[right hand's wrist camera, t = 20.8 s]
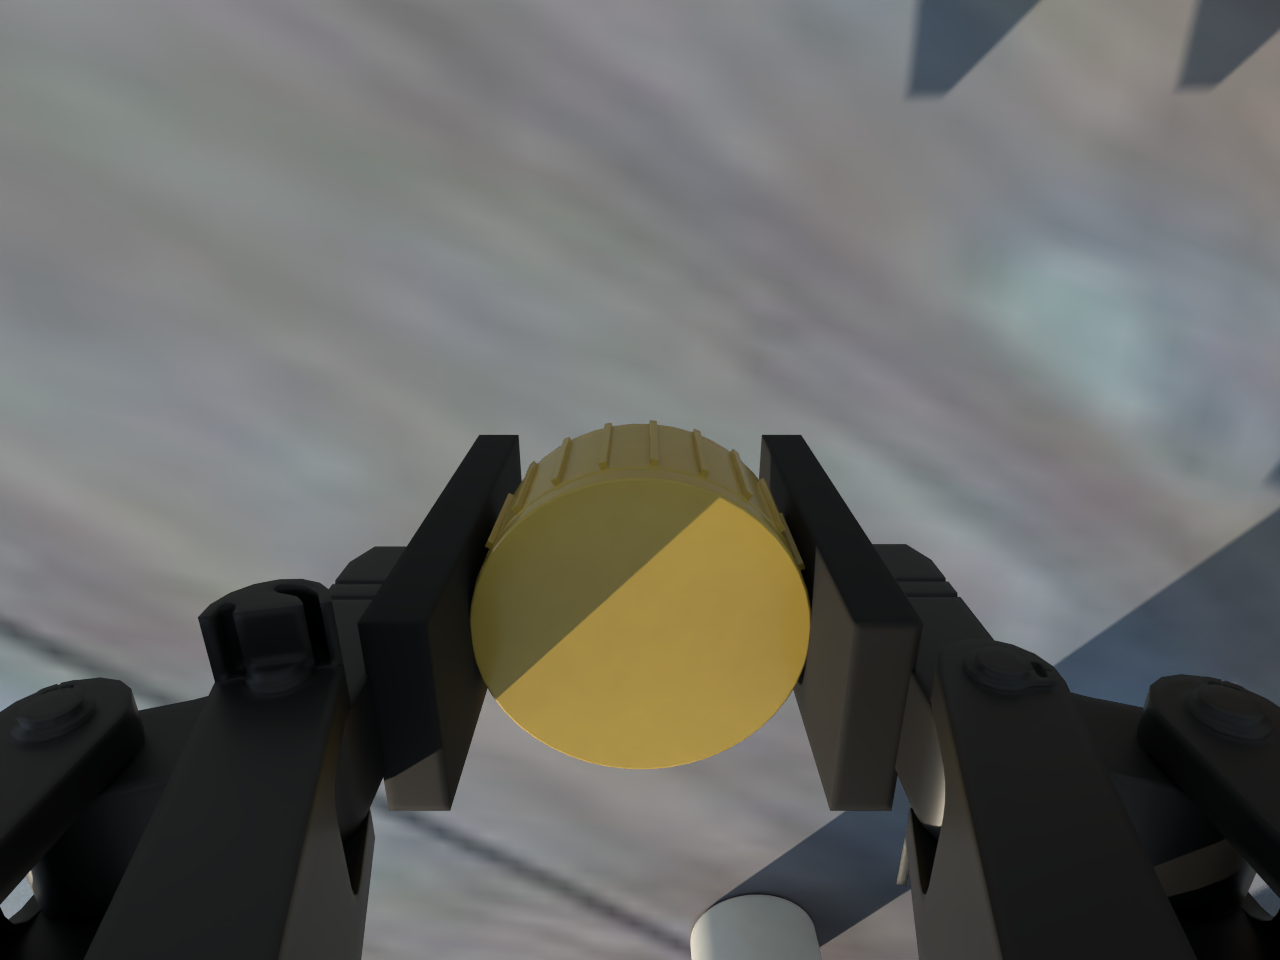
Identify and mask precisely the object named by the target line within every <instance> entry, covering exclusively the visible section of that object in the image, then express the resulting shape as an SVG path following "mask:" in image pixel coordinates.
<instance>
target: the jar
mask: <svg viewBox="0 0 1280 960" xmlns="http://www.w3.org/2000/svg"><path fill="white" fill-rule="evenodd" d="M691 954H692V960H822V956H821V952H820V948H819V944H818V940H817V936H816V932H815V928H814V925H813V922H812V920H811V919H810V917H809V916H808V915H807V913H806V912H805V911H804V910H803V909H801V908H800V907H799V906H798V905H796V904H794V903H792V902H790V901H788V900H786V899H783V898H780V897H776V896H771V895H744V896H738V897H734V898H731V899H728V900H725V901H723V902H720V903H718V904H717V905H715V906H713V907H712V908H710V909H709V910H707V911H706V912H705V913H704V914H703V915H702V916H701V917H700V918H699V919H698V921H697V923H696V924H695V926H694V928H693V931H692V935H691Z"/></svg>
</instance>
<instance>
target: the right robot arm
mask: <svg viewBox="0 0 1280 960" xmlns="http://www.w3.org/2000/svg"><path fill="white" fill-rule="evenodd" d="M762 478H764V479H765V481H766V482H767V485H768V487H769V489H770V492H771V494H772V497H773V499H774V501H775V504H776V506H777V508H778V511H779V513H783V516H784V518H785V520H786V523H787V525H788V528H789V530H790V532H791V535H792V537H793V539H794V542H795V544H796V546H797V549H798V551H799V553H800V556H801V558H802V560H803V563H804V566H805V569H804V570H801V573H802V576H803V578H804V581H805V584H806V587H807V590H808V595H809V600H810V605H811V624H810V634H809V644H808V653H807V658H806V662H805V666H804V668H803V670H802V673H801V675H800V677H799V679H798V682H797V684H796V685H795V687H794V689H793V690H794V693H795V696H796V700H797V703H798V706H799V710H800V713H801V716H802V719H803V723H804V726H805V729H806V733H807V736H808V739H809V742H810V746H811V749H812V752H813V755H814V759H815V762H816V765H817V769H818V772H819V775H820V778H821V782H822V785H823V788H824V792H825V795H826V798H827V801H828V805H829V808H830V811H891V810H892V804H893V798H894V792H895V786H896V780H897V775H898V776H899V778H900V781H901V783H902V785H903V788H904V790H905V792H906V794H907V797H908V799H909V801H910V804H911V806H910V811H909V816H908V822H907V827H906V833H905V838H904V844H903V849H902V855H901V860H900V866H899V872H898V878H897V884H899V885H904V886H906V885H907V880H908V875H910V884H911V893H912V901H913V910H914V919H915V928H916V936H917V945H918V954H919V960H1280V909H1279V911H1278V913H1277V915H1276V916H1275V917H1272V916H1271V915H1270V914H1269V913H1268V912H1266V911H1265V910H1264V909H1263V908H1262V907H1261V906H1260V905H1259V904H1258V903H1257V902H1256V900H1255V899H1254V898H1253V897H1252V896H1251V895H1250V893H1249V892H1248V890H1249V888H1250V886H1251V884H1252V881H1253V879H1254V877H1255V874H1256V872H1257V874H1258V875H1259V876H1260V877H1261V878H1262V879H1263V880H1264V881H1265V882H1266V884H1267V885H1268V886H1269V887H1270V888H1271V889H1272V890H1273V891H1274V892H1275V894H1276V895H1277V896H1278V897H1279V898H1280V707H1278V706H1277V705H1275V704H1274V703H1272V702H1271V701H1269V700H1268V699H1266V698H1264V697H1262V696H1259V695H1257V694H1255V693H1253V692H1250V691H1248V690H1246V689H1245V688H1243V687H1242V686H1239V685H1237V684H1234V683H1230V682H1227V681H1224V682H1223V681H1221V680H1220V679H1216V678H1211V677H1201V676H1192V675H1183V674H1180V675H1173V676H1166V677H1161V678H1160V679H1158V680H1157V681H1156V682H1154V683H1153V684H1152V685H1150V689H1149V692H1148V695H1147V698H1146V701H1145V704H1144V707H1143V708H1142V707H1137V706H1132V705H1127V704H1122V703H1117V702H1112V701H1106V700H1101V699H1096V698H1091V697H1086V696H1083V695H1079V694H1075V693H1071V692H1070V690H1069V688H1068V686H1067V684H1066V682H1065V680H1064V679H1063V678H1062V677H1061V675H1060V674H1059V673H1058V672H1057V670H1056V669H1055V668H1054V667H1053V666H1052V665H1050V664H1049V663H1047V662H1046V661H1044V660H1043V659H1042V658H1040V657H1039V656H1037V655H1036V654H1034V653H1031V652H1029V651H1027V650H1024V649H1022V648H1019V647H1017V646H1015V645H1012V644H1008V643H1003V642H999V641H994V639H993V638H992V637H991V636H990V634H989V633H988V632H987V630H986V629H985V628H984V627H983V625H982V624H981V623H980V622H979V620H978V619H977V618H976V616H975V615H974V614H973V613H972V611H971V610H970V609H969V607H968V606H967V605H966V604H965V602H964V601H963V600H962V598H961V597H958V596H957V592H956V591H955V590H954V588H953V587H952V586H951V584H950V583H949V582H946V580H945V579H946V578H945V577H944V575H943V574H942V573H941V572H940V570H939V569H938V568H937V567H936V565H935V564H934V563H933V561H932V560H931V559H929V558H927V557H926V556H924V555H923V554H921V553H919V552H918V551H916V550H914V549H913V548H911V547H910V546H908V545H906V544H872V543H871V542H870V540H869V539H868V537H867V536H866V534H865V533H864V531H863V529H862V528H861V526H860V525H859V523H858V522H857V520H856V519H855V517H854V516H853V514H852V513H851V511H850V509H849V508H848V506H847V505H846V503H845V502H844V500H843V499H842V497H841V496H840V494H839V493H838V491H837V490H836V488H835V486H834V485H833V483H832V482H831V480H830V479H829V477H828V476H827V474H826V473H825V471H824V470H823V468H822V466H821V465H820V463H819V462H818V460H817V459H816V457H815V456H814V454H813V453H812V451H811V450H810V448H809V446H808V445H807V443H806V442H805V440H804V439H803V437H802V436H801V435H762V443H761V458H760V473H759V480H760V479H762ZM521 482H522V481H521V466H520V451H519V436H518V435H479V436H478V438H477V439H476V441H475V443H474V444H473V446H472V447H471V449H470V450H469V452H468V453H467V455H466V456H465V458H464V459H463V461H462V463H461V464H460V466H459V467H458V469H457V470H456V472H455V473H454V475H453V476H452V478H451V479H450V481H449V483H448V484H447V486H446V487H445V489H444V490H443V492H442V493H441V495H440V496H439V498H438V499H437V501H436V503H435V504H434V506H433V507H432V509H431V510H430V512H429V513H428V515H427V516H426V518H425V519H424V521H423V523H422V524H421V526H420V527H419V529H418V530H417V532H416V533H415V535H414V536H413V538H412V539H411V541H410V543H409V544H408V546H407V547H373V548H372V549H370V550H369V551H367V552H365V553H364V554H362V555H361V556H359V557H357V558H356V559H354V560H352V561H351V562H349V564H348V565H347V566H346V568H345V569H344V570H343V571H342V573H341V574H340V575H339V577H338V578H337V579H336V580H335V584H332V586H331V587H330V588H329V589H327V588H326V587H325V586H323V585H322V584H321V583H318V582H314V581H309V580H304V579H279V580H273V581H268V582H263V583H258V584H253V585H251V586H248V587H245V588H242V589H239V590H237V591H234V592H231V593H229V594H227V595H226V596H224V597H222V598H220V599H219V600H217V601H215V602H214V603H212V604H210V605H209V606H208V607H207V608H206V609H205V610H204V612H203V613H202V614H201V615H200V616H199V617H198V619H199V623H200V627H201V631H202V635H203V638H204V642H205V646H206V650H207V653H208V657H209V661H210V665H211V668H212V672H213V676H214V680H215V683H214V685H213V688H212V690H211V692H210V694H209V696H207V697H203V698H199V699H195V700H190V701H185V702H180V703H175V704H170V705H165V706H160V707H155V708H150V709H145V710H140V711H138V709H137V705H136V702H135V699H134V696H133V693H132V690H131V688H130V687H128V686H127V685H126V684H124V683H123V682H122V681H120V680H114V679H107V678H92V679H83V680H72V681H68V682H63V683H61V684H60V685H57V684H55V685H52V686H49V687H46V688H43V689H41V690H39V691H38V692H37V693H34V694H32V695H30V696H28V697H25V698H23V699H21V700H19V701H16V702H15V703H13V704H12V705H10V706H9V707H7V708H6V709H4V710H3V711H1V712H0V904H1V903H2V902H3V901H4V900H5V899H6V898H7V896H8V895H9V894H10V893H11V892H12V891H13V890H14V889H15V887H16V886H17V885H18V884H19V883H20V882H21V881H22V880H23V879H24V877H25V876H26V877H27V880H28V882H29V884H30V887H31V889H32V891H33V894H34V895H33V896H32V897H31V898H30V900H29V901H28V902H27V903H26V904H25V905H24V906H23V908H22V909H21V910H20V911H18V912H17V913H16V914H15V915H14V916H12V917H11V918H10V919H9V920H8V919H7V918H6V917H5V916H4V914H3V912H2V910H1V908H0V960H361V956H362V947H363V938H364V930H365V921H366V912H367V903H368V895H369V886H370V877H371V868H372V859H373V851H374V842H375V835H374V828H373V822H372V816H371V811H370V806H371V804H372V802H373V799H374V797H375V795H376V792H377V790H378V788H379V786H380V783H381V781H382V779H383V778H384V784H385V789H386V795H387V801H388V807H389V811H450V809H451V806H452V803H453V800H454V796H455V793H456V790H457V786H458V783H459V780H460V777H461V773H462V770H463V767H464V764H465V760H466V757H467V754H468V750H469V747H470V744H471V741H472V737H473V734H474V731H475V727H476V724H477V721H478V718H479V714H480V711H481V708H482V704H483V701H484V698H485V695H486V691H487V688H488V687H487V686H486V684H485V682H484V680H483V678H482V676H481V673H480V671H479V668H478V666H477V663H476V661H475V657H474V652H473V645H472V635H471V625H470V607H471V601H472V596H473V592H474V587H475V584H476V580H477V577H478V575H479V573H480V570H481V568H482V565H483V563H484V561H485V558H486V556H487V553H488V551H489V548H487V547H485V545H486V542H487V540H488V538H489V535H490V533H491V531H492V529H493V526H494V524H495V522H496V520H497V517H498V515H499V513H500V511H501V508H502V506H503V504H504V502H505V499H506V497H507V495H508V493H510V494H512V495H514V493H515V492H516V490H517V488H518V486H519V485H520V483H521Z"/></svg>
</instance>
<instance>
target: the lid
mask: <svg viewBox="0 0 1280 960" xmlns="http://www.w3.org/2000/svg"><path fill="white" fill-rule="evenodd" d="M485 547H487V548H489V551H488V553H487V556H486V558H485V561H484V563H483V565H482V568H481V570H480V573H479V575H478V577H477V580H476V584H475V587H474V592H473V596H472V601H471V607H470V625H471V635H472V645H473V652H474V657H475V661H476V663H477V666H478V668H479V671H480V673H481V676H482V678H483V680H484V682H485V684H486V686H487V687H488V689H489V691H490V692H491V694H492V696H493V697H494V699H495V700H496V701H497V702H498V704H499V705H500V706H501V707H502V709H503V710H504V711H505V712H506V713H507V714H508V715H509V716H510V717H511V718H512V719H513V720H514V721H515V722H516V723H517V724H518V725H519V726H520V727H522V728H523V729H524V730H525V731H527V732H528V733H529V734H531V735H532V736H533V737H535V738H536V739H538V740H540V741H541V742H543V743H545V744H546V745H548V746H550V747H551V748H554V749H556V750H558V751H560V752H562V753H564V754H567V755H569V756H572V757H575V758H578V759H581V760H584V761H587V762H590V763H595V764H599V765H604V766H609V767H617V768H626V769H655V768H666V767H673V766H678V765H683V764H688V763H692V762H695V761H698V760H702V759H705V758H708V757H711V756H713V755H715V754H718V753H720V752H722V751H725V750H727V749H729V748H730V747H732V746H734V745H736V744H737V743H739V742H741V741H743V740H744V739H746V738H747V737H749V736H750V735H751V734H753V733H754V732H755V731H757V730H758V729H759V728H761V727H762V726H763V725H764V724H765V723H766V722H767V721H768V720H769V719H770V718H771V717H772V716H773V715H774V714H775V713H776V712H777V711H778V710H779V708H780V707H781V706H782V705H783V704H784V702H785V701H786V700H787V698H788V697H789V695H790V693H791V692H792V690H793V689H794V687H795V685H796V684H797V682H798V679H799V677H800V675H801V673H802V670H803V668H804V666H805V662H806V658H807V653H808V644H809V634H810V624H811V605H810V600H809V595H808V590H807V587H806V584H805V581H804V578H803V576H802V573H801V570H804V569H805V566H804V563H803V560H802V558H801V556H800V553H799V551H798V549H797V546H796V544H795V542H794V539H793V537H792V535H791V532H790V530H789V528H788V525H787V523H786V520H785V518H784V516H783V513H779V511H778V508H777V506H776V504H775V501H774V499H773V497H772V494H771V492H770V489H769V487H768V485H767V482H766V481H765V479H764V478H762V479H760V480H758V478H757V477H756V476H755V474H754V473H753V472H752V471H751V470H750V469H749V468H748V467H747V466H746V465H745V464H744V463H743V462H742V461H741V460H740V457H739V454H738V452H737V451H735V450H734V449H732V451H731V452H729V451H728V450H727V449H725V448H723V447H722V446H720V445H718V444H716V443H715V442H713V441H711V440H709V439H707V438H705V437H702V436H701V433H700V431H698V430H696V429H694V430H693V432H689V431H686V430H682V429H678V428H674V427H669V426H662V425H657V421H651V420H650V423H649V424H628V425H620V426H612V423H608V424H605V427H604V429H600V430H596V431H592V432H590V433H587V434H585V435H582V436H579V437H577V438H575V439H573V440H571V439H570V437H568V438H566V439H564V440H563V443H562V446H560V447H558V448H557V449H555V450H554V451H553V452H551V453H550V454H549V455H547V456H546V457H544V458H543V459H542V460H541V461H540V462H539V463H538V464H537V463H536V462H535V461H533V462H532V463H531V464H530V466H529V468H528V471H527V473H526V475H525V478H524V480H523V481H522V482H521V483H520V485H519V486H518V488H517V490H516V492H515V493H514V495H512V494H510V493H508V495H507V497H506V499H505V502H504V504H503V506H502V508H501V511H500V513H499V515H498V517H497V520H496V522H495V524H494V526H493V529H492V531H491V533H490V535H489V538H488V540H487V542H486V545H485Z"/></svg>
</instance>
